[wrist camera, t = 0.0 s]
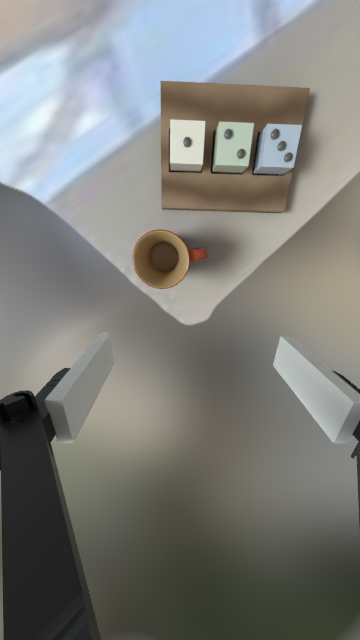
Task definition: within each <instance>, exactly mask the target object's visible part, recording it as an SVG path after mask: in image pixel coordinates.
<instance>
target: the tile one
mask: <svg viewBox="0 0 360 640" xmlns="http://www.w3.org/2000/svg"><path fill="white" fill-rule="evenodd" d="M204 136H205V121H194V120H171V119H170V169H171V170H175V171H201V168H202V165H203V153H204Z"/></svg>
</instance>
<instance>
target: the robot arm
mask: <svg viewBox="0 0 360 640" xmlns="http://www.w3.org/2000/svg"><path fill="white" fill-rule="evenodd" d="M113 365H114V358H113V350H112V343H111V334H110V333H100V334H99V335H98V336H97V337H96V339H95V340H94V341H93V342H92V344H91V345H90V346H89V347H88V348H87V349H86V351H85V352H84V353H83V354H82V356H81V357H80V358H79V359H78V360H77V361H76V363H75V364H74V365H73V366H72V368H64V369H62V370H61V371H59V372H58V373H56V374H55V375H54V376H53V377H52V378H51V380H50V381H49V382H48V383H47V384H46V386H44V387H43V388H42V389H41V391H40V392H39V393H38V394H37V395H36V396H35V397H34V394H33V393H32V392H31V391H19V392H15V393H12V394H10V395H8V396H6V397H5V398H3V399H1V400H0V470H1V497H2V498H1V499H2V559H3V560H2V561H3V619H4V621H3V622H4V640H102V639H101V636H100V632H99V629H98V625H97V621H96V617H95V613H94V609H93V605H92V601H91V597H90V594H89V590H88V586H87V582H86V578H85V574H84V570H83V566H82V562H81V559H80V555H79V551H78V547H77V543H76V539H75V535H74V532H73V528H72V524H71V520H70V516H69V512H68V508H67V504H66V500H65V497H64V493H63V489H62V485H61V481H60V477H59V474H58V470H57V466H56V462H55V458H54V455H53V451H52V446H51V444H50V443H51V441H52V439H53V438H54V436H55V435H56V438H57V441H58V443H74V441H75V439H76V437H77V435H78V433H79V431H80V430H81V428H82V425H83V423H84V422H85V419H86V418H87V416H88V414H89V412H90V410H91V408H92V406H93V404H94V402H95V400H96V398H97V396H98V394H99V392H100V390H101V388H102V386H103V384H104V382H105V380H106V378H107V377H108V375H109V373H110V371H111V369H112V367H113ZM273 366H274V367H275V368H276V370H277V371H278V372H279V373H280V375H281V376H282V377H283V378H284V380H285V381H286V382H287V384H288V385H289V386H290V388H291V389H292V390H293V391H294V393H295V394H296V395H297V397H298V398H299V399H300V400H301V402H302V403H303V404H304V406H305V407H306V408H307V410H308V411H309V412H310V414H311V415H312V416H313V417H314V419H315V420H316V421H317V423H318V424H319V425H320V426H321V428H322V429H323V430H324V432H325V433H326V434H327V435H328V437H329V438H330V439H331V441H333V443H349V441H350V439H351V437H352V436H353V435H354V436H355V438H356V439H357V440H358V441H359V442H358V444H357V446H356V448H355V449H354V451H353V453H352V455H351V457H352V458H354V457H355V456H356V455H357V475H358V499H359V523H360V389H357V387H356V386H355V385H354V384H352V383H351V382H350V381H349V380H348V379H346V378H345V377H344V376H342V375H340V374H339V373H337V372H335V371H332V370H330V369H329V368H328V367H327V366H326V365H324V364H323V363H322V362H321V361H320V360H318V359H317V358H316V357H315V356H314V355H313V354H311V353H310V352H309V351H308V350H307V349H305V348H304V347H303V346H302V345H300V344H299V343H298V342H297V341H296V340H295V339H293V338H292V337H291V336H281V337H280V341H279V345H278V348H277V352H276V356H275V360H274V364H273Z"/></svg>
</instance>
